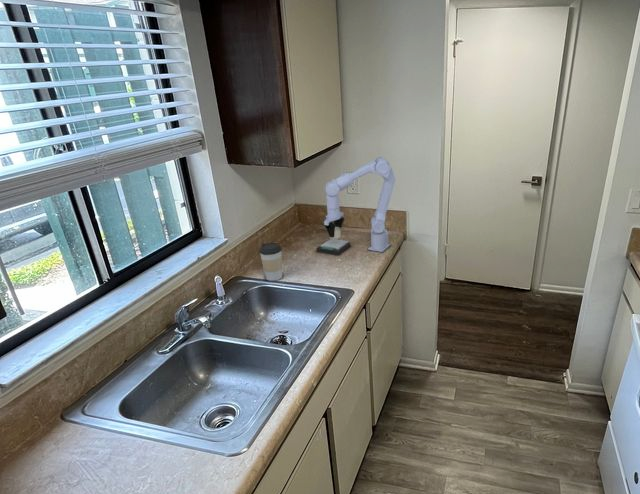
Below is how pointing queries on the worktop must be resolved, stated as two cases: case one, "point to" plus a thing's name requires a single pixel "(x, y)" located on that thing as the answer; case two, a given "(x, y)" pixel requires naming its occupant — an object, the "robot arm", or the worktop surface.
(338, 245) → the scale
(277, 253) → the coffee cup
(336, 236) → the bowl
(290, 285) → the worktop surface
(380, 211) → the robot arm
